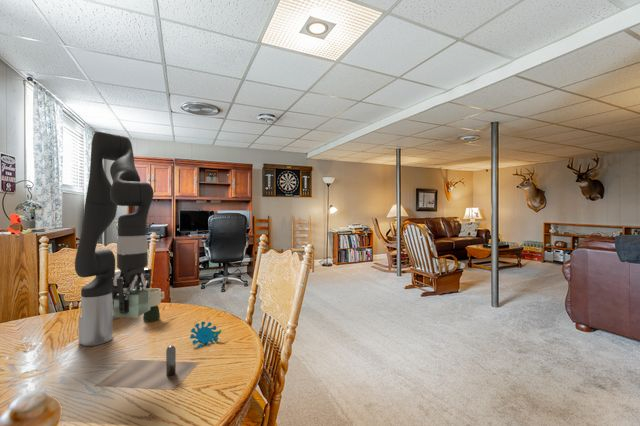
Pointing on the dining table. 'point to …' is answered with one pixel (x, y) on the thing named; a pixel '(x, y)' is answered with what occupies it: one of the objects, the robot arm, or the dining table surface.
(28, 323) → the dining table surface
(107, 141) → the robot arm
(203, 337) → the gear
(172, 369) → the metal post
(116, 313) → the pale green open box
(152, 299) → the character mug
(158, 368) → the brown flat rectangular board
